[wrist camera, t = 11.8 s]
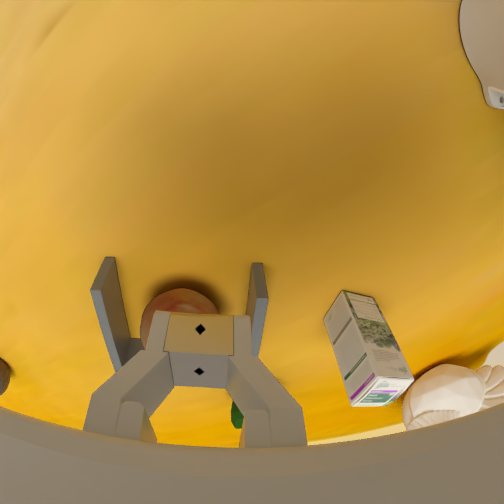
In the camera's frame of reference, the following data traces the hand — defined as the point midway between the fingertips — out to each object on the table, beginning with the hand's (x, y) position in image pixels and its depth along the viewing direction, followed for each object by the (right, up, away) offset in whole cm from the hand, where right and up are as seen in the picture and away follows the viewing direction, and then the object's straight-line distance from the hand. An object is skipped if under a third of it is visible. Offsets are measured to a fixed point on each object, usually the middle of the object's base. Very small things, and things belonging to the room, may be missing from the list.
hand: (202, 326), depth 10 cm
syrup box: (+15, -5, +33) cm, 36 cm away
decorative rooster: (+43, -23, +48) cm, 68 cm away
